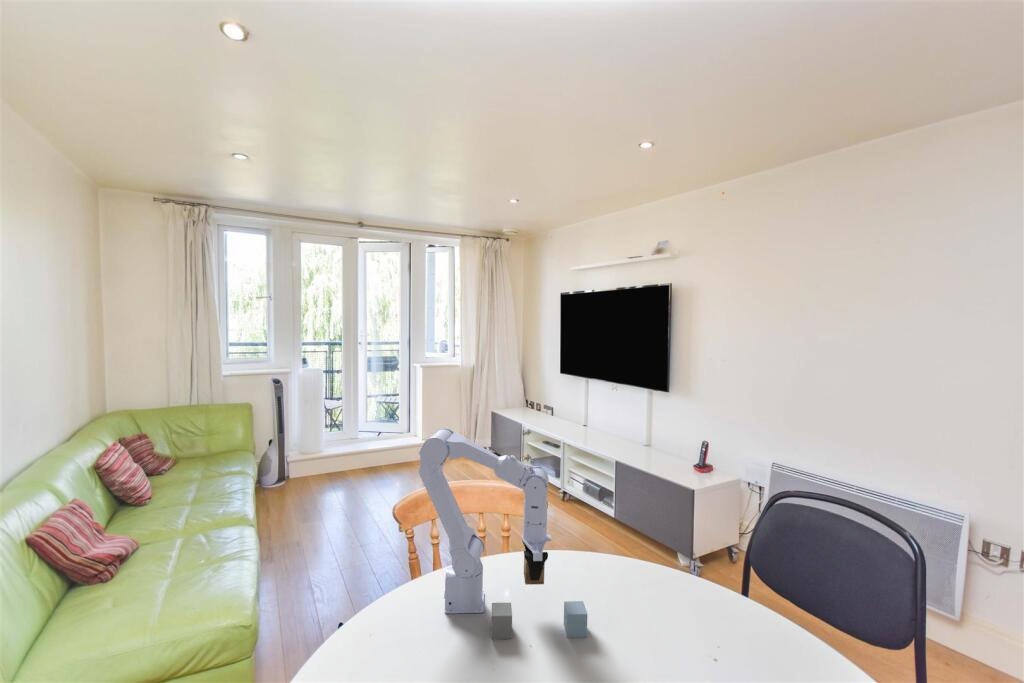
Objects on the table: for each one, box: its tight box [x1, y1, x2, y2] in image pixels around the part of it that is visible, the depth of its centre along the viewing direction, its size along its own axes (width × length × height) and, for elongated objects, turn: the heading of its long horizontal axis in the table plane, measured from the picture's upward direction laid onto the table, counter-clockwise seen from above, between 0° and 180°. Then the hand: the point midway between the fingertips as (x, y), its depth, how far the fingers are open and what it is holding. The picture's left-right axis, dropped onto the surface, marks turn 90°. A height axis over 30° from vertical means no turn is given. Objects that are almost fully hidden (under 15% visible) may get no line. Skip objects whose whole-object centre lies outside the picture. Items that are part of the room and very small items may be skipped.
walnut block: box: [523, 555, 546, 586], centre depth 110 cm, size 4×4×6 cm
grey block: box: [490, 602, 513, 640], centre depth 103 cm, size 4×4×6 cm
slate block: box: [563, 600, 588, 639], centre depth 104 cm, size 4×4×6 cm
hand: (533, 573), depth 110 cm, fingers closed on walnut block, 4 cm apart
